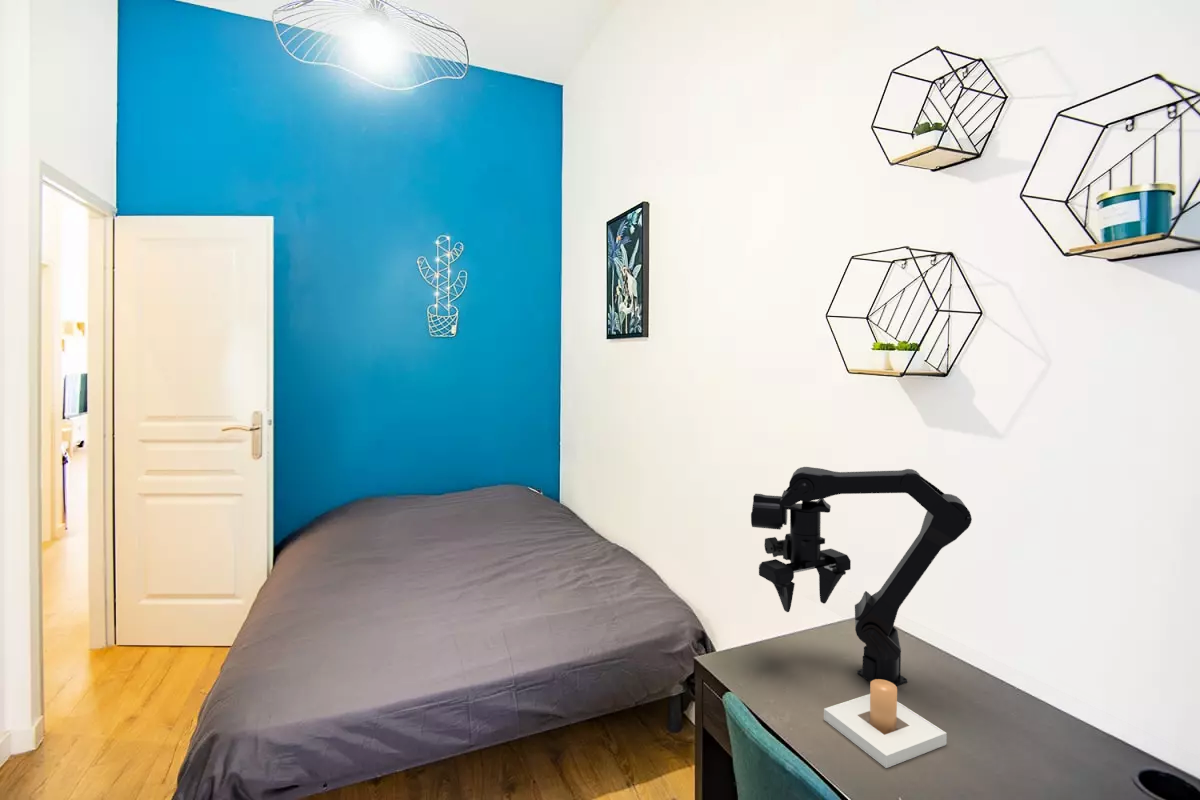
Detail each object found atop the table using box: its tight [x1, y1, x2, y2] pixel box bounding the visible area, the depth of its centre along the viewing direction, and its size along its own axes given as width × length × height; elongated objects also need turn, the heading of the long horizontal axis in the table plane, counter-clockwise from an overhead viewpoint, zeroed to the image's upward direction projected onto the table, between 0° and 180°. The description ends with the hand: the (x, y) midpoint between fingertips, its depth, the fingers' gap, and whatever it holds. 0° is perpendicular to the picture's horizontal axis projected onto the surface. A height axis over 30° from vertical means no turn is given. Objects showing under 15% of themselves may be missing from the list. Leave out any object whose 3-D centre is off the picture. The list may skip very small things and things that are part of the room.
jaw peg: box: [869, 679, 898, 735], centre depth 97 cm, size 4×4×8 cm
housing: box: [823, 693, 948, 769], centre depth 98 cm, size 13×13×2 cm
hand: (805, 607), depth 118 cm, fingers open, 9 cm apart
